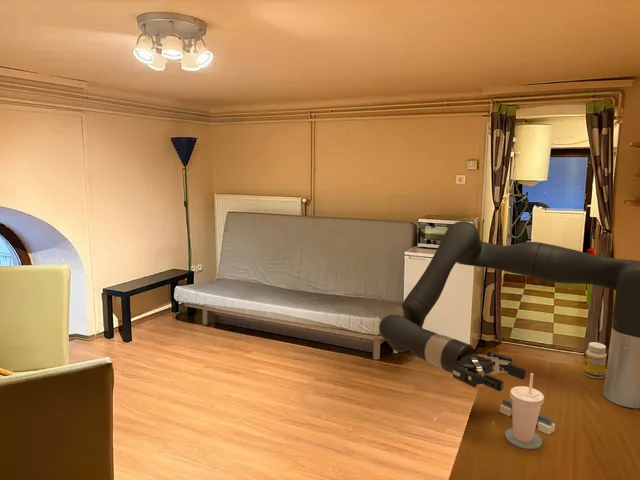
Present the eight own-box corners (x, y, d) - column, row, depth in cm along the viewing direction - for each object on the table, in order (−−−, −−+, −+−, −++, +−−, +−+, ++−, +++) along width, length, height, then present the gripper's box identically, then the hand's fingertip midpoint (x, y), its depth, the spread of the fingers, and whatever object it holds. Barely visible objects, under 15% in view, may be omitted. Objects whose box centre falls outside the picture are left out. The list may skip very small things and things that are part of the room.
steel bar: (502, 404, 112) (502, 399, 112) (505, 403, 112) (505, 398, 112) (549, 426, 103) (550, 421, 103) (552, 424, 104) (553, 419, 104)
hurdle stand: (499, 411, 112) (500, 405, 112) (505, 408, 113) (506, 401, 113) (548, 434, 103) (549, 427, 103) (554, 430, 104) (555, 423, 104)
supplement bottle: (585, 369, 134) (588, 340, 132) (604, 374, 131) (608, 344, 130) (582, 375, 130) (585, 345, 128) (602, 380, 127) (606, 350, 126)
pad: (510, 425, 106) (510, 423, 106) (545, 436, 102) (545, 435, 102) (500, 440, 101) (501, 439, 101) (537, 453, 97) (537, 451, 97)
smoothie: (543, 447, 98) (550, 382, 95) (509, 443, 99) (515, 379, 96) (535, 429, 104) (542, 368, 101) (503, 426, 105) (509, 365, 103)
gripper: (430, 346, 109) (495, 373, 97) (469, 332, 118) (533, 354, 105) (428, 378, 111) (492, 408, 98) (467, 361, 119) (530, 387, 107)
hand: (514, 380), depth 102 cm, fingers open, 8 cm apart
